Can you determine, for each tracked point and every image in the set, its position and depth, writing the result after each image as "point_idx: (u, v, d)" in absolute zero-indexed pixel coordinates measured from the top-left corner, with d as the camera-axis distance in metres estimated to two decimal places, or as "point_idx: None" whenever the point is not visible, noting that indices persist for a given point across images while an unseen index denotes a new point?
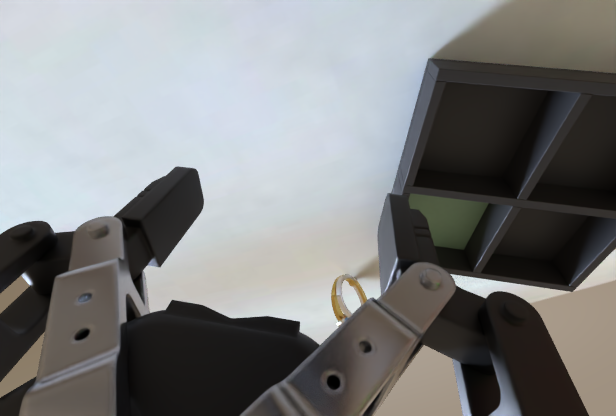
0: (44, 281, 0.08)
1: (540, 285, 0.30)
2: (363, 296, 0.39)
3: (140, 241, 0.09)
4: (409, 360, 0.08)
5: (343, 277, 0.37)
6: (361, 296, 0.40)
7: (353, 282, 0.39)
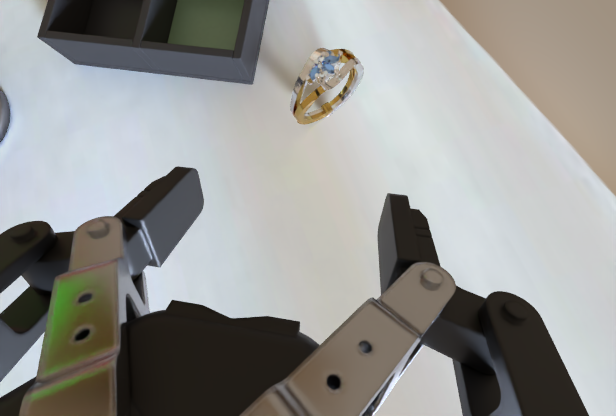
0: (44, 281, 0.08)
1: None
2: (344, 89, 0.27)
3: (140, 241, 0.09)
4: (409, 360, 0.08)
5: None
6: (345, 92, 0.27)
7: (323, 107, 0.27)
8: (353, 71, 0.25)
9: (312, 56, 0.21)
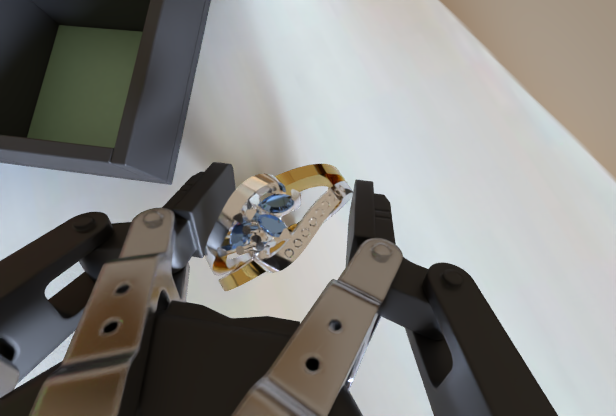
0: None
1: None
2: None
3: (188, 232, 0.10)
4: (373, 329, 0.08)
5: None
6: None
7: None
8: None
9: (236, 195, 0.10)
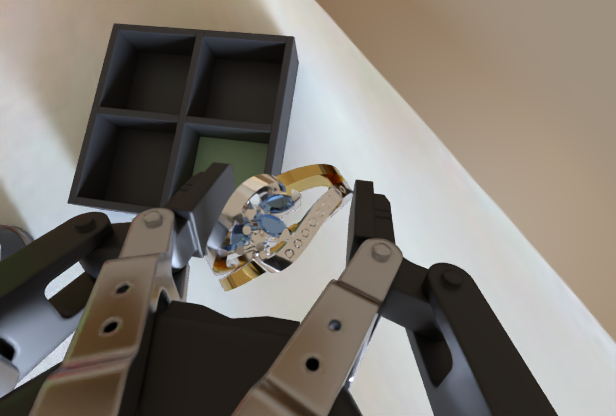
0: None
1: (286, 66, 0.29)
2: None
3: (188, 232, 0.10)
4: (373, 329, 0.08)
5: None
6: None
7: None
8: None
9: (236, 195, 0.10)
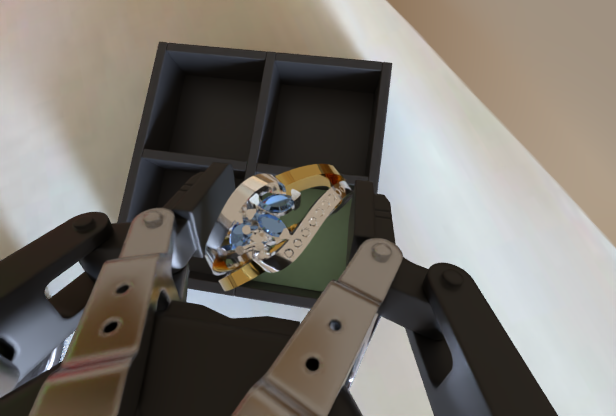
0: None
1: (384, 100, 0.23)
2: None
3: (188, 232, 0.10)
4: (373, 329, 0.08)
5: None
6: None
7: None
8: None
9: (236, 195, 0.10)
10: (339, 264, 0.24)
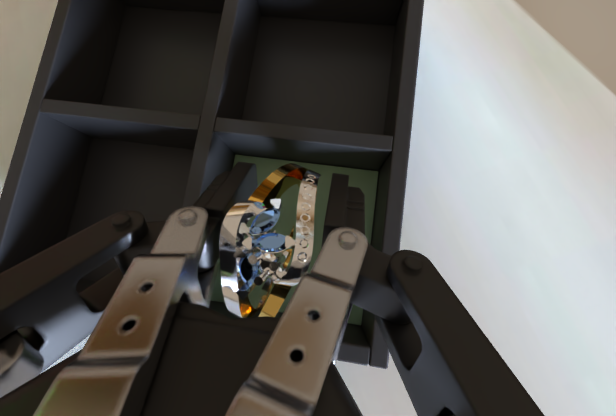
0: None
1: (416, 18, 0.14)
2: None
3: (219, 230, 0.10)
4: (348, 315, 0.09)
5: None
6: None
7: None
8: None
9: (224, 236, 0.09)
10: None
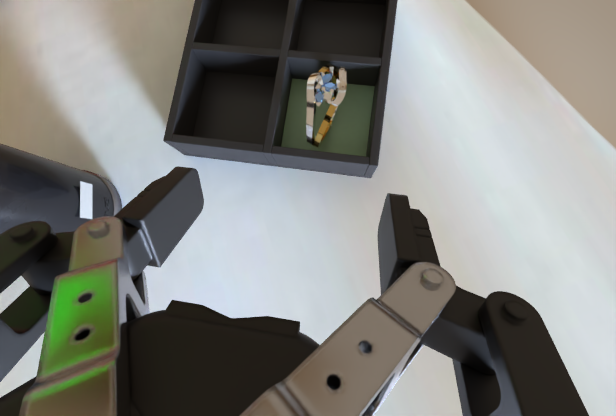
0: (44, 281, 0.08)
1: None
2: (332, 99, 0.28)
3: (140, 241, 0.09)
4: (409, 360, 0.08)
5: None
6: None
7: None
8: (336, 79, 0.26)
9: (308, 85, 0.22)
10: (356, 142, 0.29)
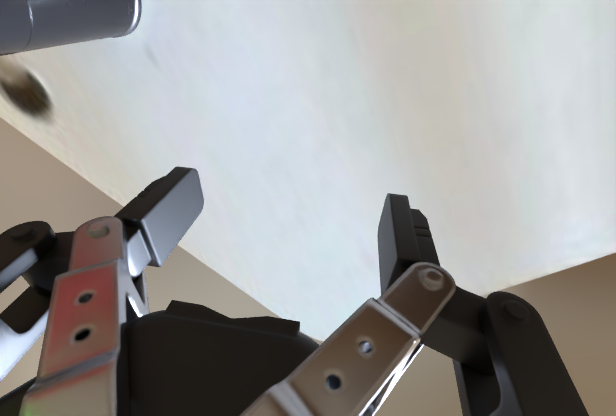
0: (44, 281, 0.08)
1: None
2: None
3: (140, 241, 0.09)
4: (409, 360, 0.08)
5: None
6: None
7: None
8: None
9: None
10: None
